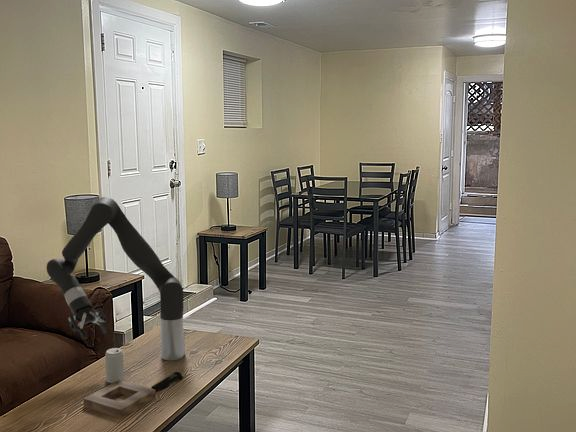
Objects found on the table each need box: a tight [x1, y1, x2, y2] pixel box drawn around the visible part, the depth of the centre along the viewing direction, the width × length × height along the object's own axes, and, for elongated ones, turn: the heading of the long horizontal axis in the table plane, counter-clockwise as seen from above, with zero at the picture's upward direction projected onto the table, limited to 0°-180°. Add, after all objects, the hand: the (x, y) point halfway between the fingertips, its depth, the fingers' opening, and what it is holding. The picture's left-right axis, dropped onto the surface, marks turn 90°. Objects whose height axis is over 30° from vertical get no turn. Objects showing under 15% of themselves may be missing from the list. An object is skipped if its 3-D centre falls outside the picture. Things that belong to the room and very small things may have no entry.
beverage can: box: [104, 347, 125, 384], centre depth 216 cm, size 6×6×12 cm
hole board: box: [82, 380, 156, 419], centre depth 200 cm, size 17×17×3 cm
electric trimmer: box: [150, 371, 184, 392], centre depth 214 cm, size 4×16×3 cm, turn 151°
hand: (96, 335), depth 222 cm, fingers open, 8 cm apart
